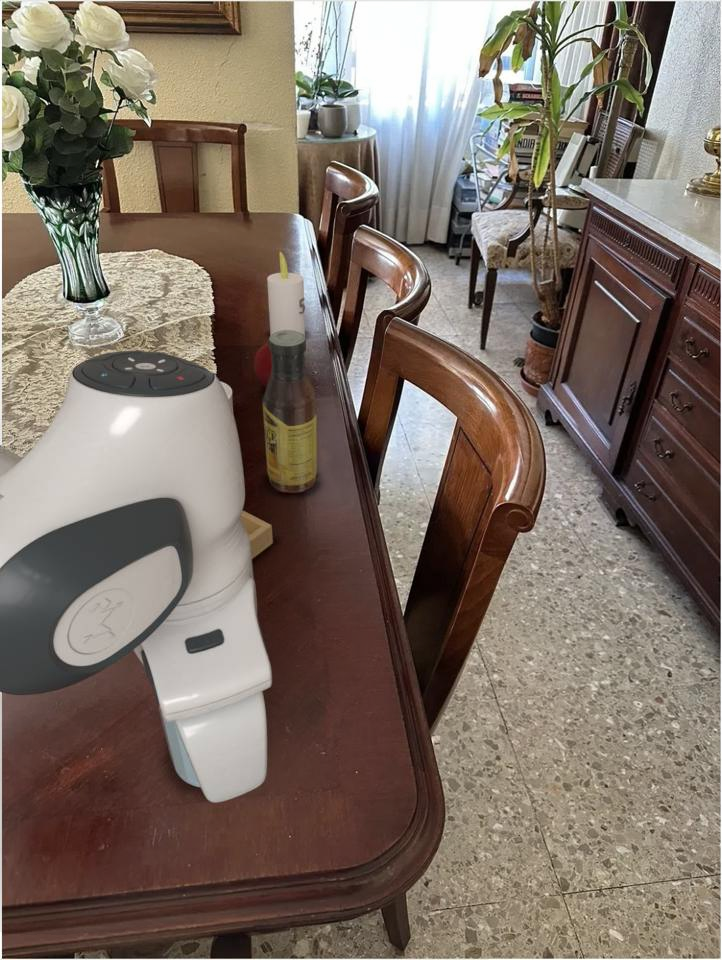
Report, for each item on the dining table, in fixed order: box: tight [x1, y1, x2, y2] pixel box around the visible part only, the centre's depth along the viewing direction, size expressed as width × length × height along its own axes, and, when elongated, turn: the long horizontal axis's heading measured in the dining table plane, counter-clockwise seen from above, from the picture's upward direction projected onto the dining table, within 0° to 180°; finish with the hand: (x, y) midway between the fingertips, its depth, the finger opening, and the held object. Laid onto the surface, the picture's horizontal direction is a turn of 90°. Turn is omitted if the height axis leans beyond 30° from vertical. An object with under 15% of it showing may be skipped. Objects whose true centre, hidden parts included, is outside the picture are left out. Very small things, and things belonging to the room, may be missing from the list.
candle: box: [266, 251, 306, 337], centre depth 117 cm, size 6×6×15 cm
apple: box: [253, 341, 272, 389], centre depth 102 cm, size 8×8×8 cm
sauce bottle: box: [262, 330, 318, 494], centre depth 78 cm, size 7×6×20 cm
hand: (209, 718), depth 51 cm, fingers closed on cup, 7 cm apart
